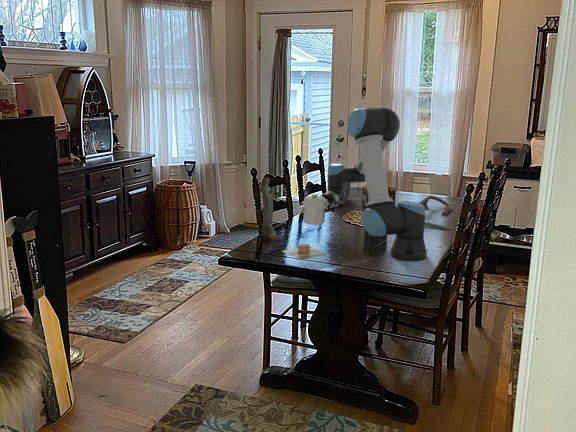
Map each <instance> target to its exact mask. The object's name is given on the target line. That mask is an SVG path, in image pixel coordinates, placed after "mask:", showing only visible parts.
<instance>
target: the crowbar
mask: <svg viewBox="0 0 576 432" xmlns="http://www.w3.org/2000/svg"><path fill="white" fill-rule="evenodd" d="M424 227H430V228H434V229H439V230H445V231H450V230H451V227H450V226H447V225H442V224H437V223H433V222H428V221H425V225H424Z"/></svg>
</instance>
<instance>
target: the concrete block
mask: <svg viewBox="0 0 576 432" xmlns="http://www.w3.org/2000/svg"><path fill="white" fill-rule="evenodd" d="M347 167H348V166H344V168H347ZM343 190H344V192H345V198H344V200H343V201H342V202H340V203H339V204H338V206H339V205H340V206H341V205H342V206H343V205H344V204H345V202H346V201H347V200H348V199H349V197H350V195H351V183H343Z"/></svg>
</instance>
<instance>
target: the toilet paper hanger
mask: <svg viewBox="0 0 576 432" xmlns="http://www.w3.org/2000/svg"><path fill="white" fill-rule="evenodd" d="M429 200H435V201H436V202H438V203H441V204H442V205H443V206H445V207H446V209H445V210H444V211H443V212H441V216H443V217H445V216H446V215H447V214H448V213H449V212H450V211H451V210H452V206H451V205H450V204H449V203H448V202H447V201H445V200H443V199H442V198H440V197H437V196H435V195H428V196H426V197H425V198H423V199H422V200H421V201H419V202H418V203H419V204H422V205H423V206H424V207H425V210H429V207H428V202H429Z"/></svg>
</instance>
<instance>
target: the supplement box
mask: <svg viewBox="0 0 576 432" xmlns="http://www.w3.org/2000/svg"><path fill="white" fill-rule="evenodd" d="M387 187H389V188H390V199H392V200H393V201H394V206H396V197H397V196H396V193H397V187H395V186H393V185H390V184H388V183H387ZM361 196H362V199H361V201H362V202H361V213H362V212H363V211H364V210H365V209H366V196H367V188H366V185H362V195H361Z"/></svg>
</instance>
